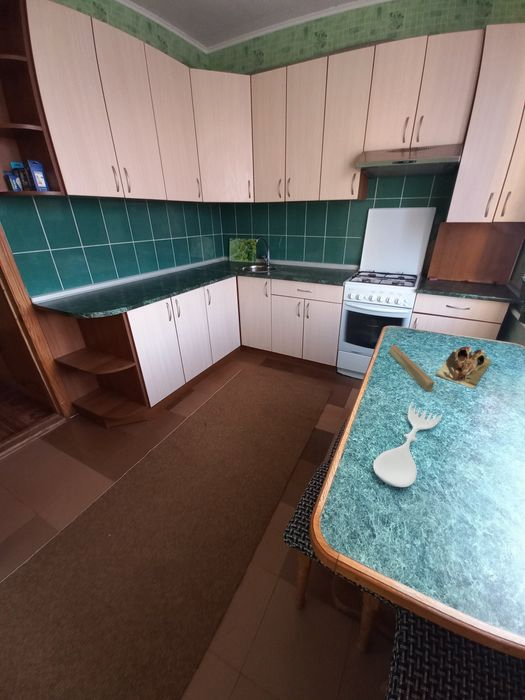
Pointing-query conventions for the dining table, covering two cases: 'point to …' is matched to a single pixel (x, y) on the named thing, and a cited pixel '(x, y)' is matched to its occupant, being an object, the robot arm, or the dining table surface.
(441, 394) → the dining table surface
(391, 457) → the spoon
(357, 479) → the dining table surface
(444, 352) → the dining table surface
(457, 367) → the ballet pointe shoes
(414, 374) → the light brown wooden bar
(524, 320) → the robot arm
